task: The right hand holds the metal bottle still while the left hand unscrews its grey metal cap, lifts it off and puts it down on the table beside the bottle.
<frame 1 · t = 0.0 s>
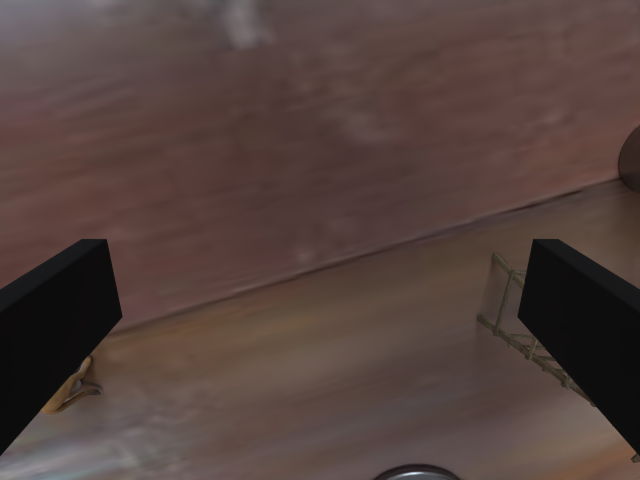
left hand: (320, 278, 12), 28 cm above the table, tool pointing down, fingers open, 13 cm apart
miniature windmill: (519, 289, 44), on the table
lion figurine: (60, 342, 46), on the table
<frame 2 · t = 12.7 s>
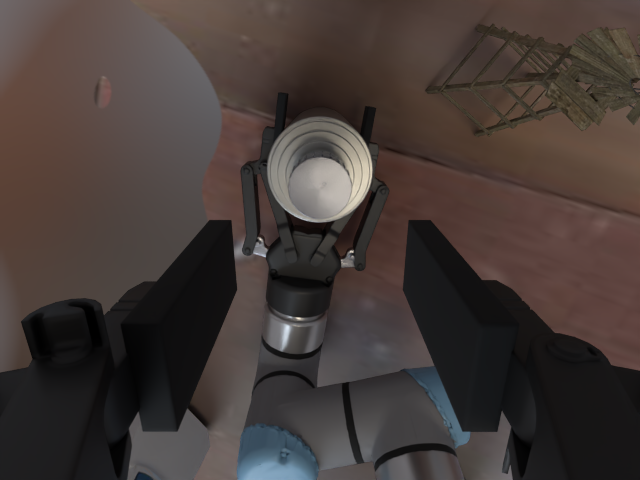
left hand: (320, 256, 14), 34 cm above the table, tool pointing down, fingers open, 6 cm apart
right hand: (327, 100, 38), fingers closed on bottle, 8 cm apart
bottle: (319, 142, 46), on the table, touching right hand
cap: (319, 187, 24), point 23 cm above the table, screwed on, not yet turned
miniature windmill: (477, 82, 44), on the table
electronic device: (172, 413, 60), on the table
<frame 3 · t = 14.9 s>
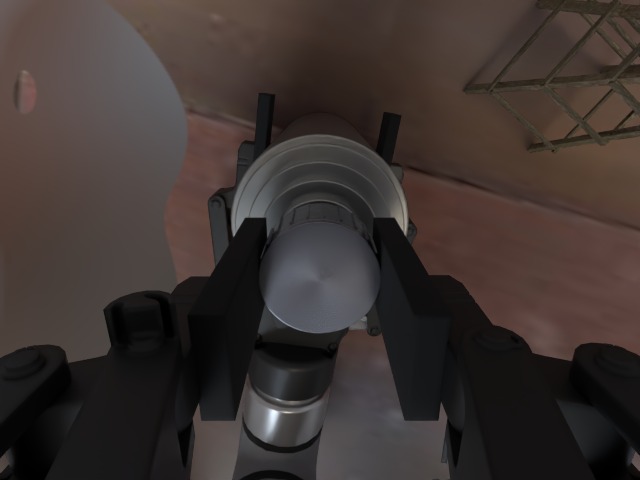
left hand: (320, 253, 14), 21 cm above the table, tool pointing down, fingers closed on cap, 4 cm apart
bottle: (319, 159, 34), on the table, touching right hand
cap: (319, 276, 13), point 23 cm above the table, screwed on, not yet turned, touching left hand
miniature windmill: (534, 79, 32), on the table
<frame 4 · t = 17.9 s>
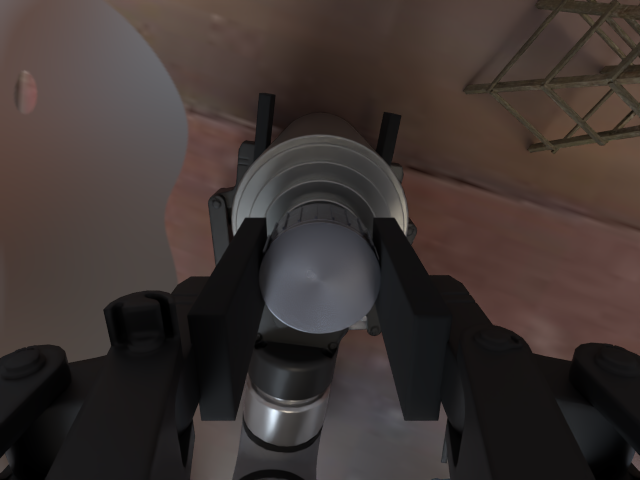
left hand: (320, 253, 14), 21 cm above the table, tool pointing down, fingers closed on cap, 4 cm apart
bottle: (320, 159, 34), on the table, touching right hand
cap: (319, 277, 13), point 23 cm above the table, turned 86° so far, risen 0.1 cm, still on its thread, touching left hand
miniature windmill: (534, 79, 32), on the table
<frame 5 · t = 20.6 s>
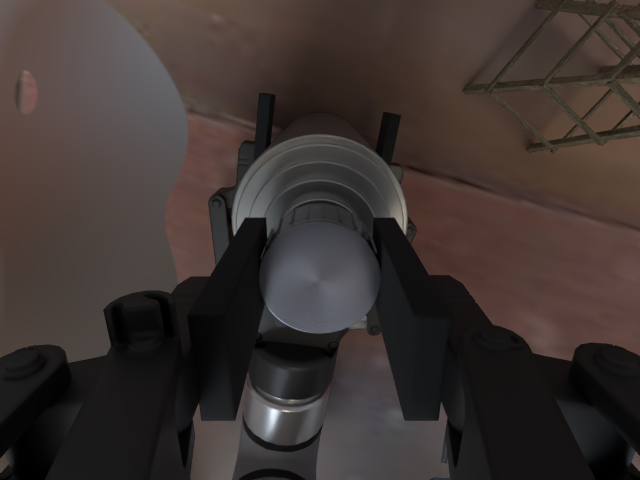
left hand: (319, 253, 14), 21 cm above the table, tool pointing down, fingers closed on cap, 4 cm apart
bottle: (319, 159, 34), on the table, touching right hand
cap: (319, 277, 13), point 23 cm above the table, turned 172° so far, risen 0.1 cm, still on its thread, touching left hand
miniature windmill: (533, 79, 32), on the table
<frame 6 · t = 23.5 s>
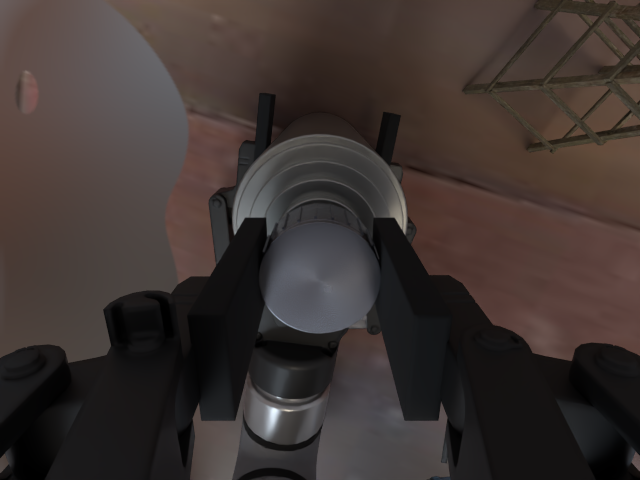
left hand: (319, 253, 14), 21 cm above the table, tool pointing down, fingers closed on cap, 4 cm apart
bottle: (319, 159, 34), on the table, touching right hand
cap: (319, 276, 13), point 23 cm above the table, turned 259° so far, risen 0.2 cm, still on its thread, touching left hand
miniature windmill: (533, 79, 32), on the table
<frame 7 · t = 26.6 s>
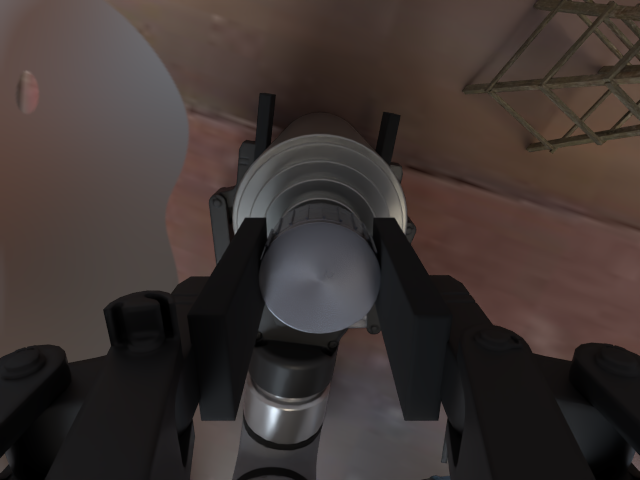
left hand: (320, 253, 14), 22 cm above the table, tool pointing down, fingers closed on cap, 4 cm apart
bottle: (319, 159, 34), on the table, touching right hand
cap: (319, 277, 13), point 23 cm above the table, turned 345° so far, risen 0.3 cm, still on its thread, touching left hand
miniature windmill: (532, 79, 32), on the table
when the left hand's fingers open (1 cm above the table, at t = 36.8 s): cap drops 2 cm, point 2 cm above the table.
when the right hand's fingers open (6 cm above the table, at t = 38.1 s): bottle stays where it is, on the table.
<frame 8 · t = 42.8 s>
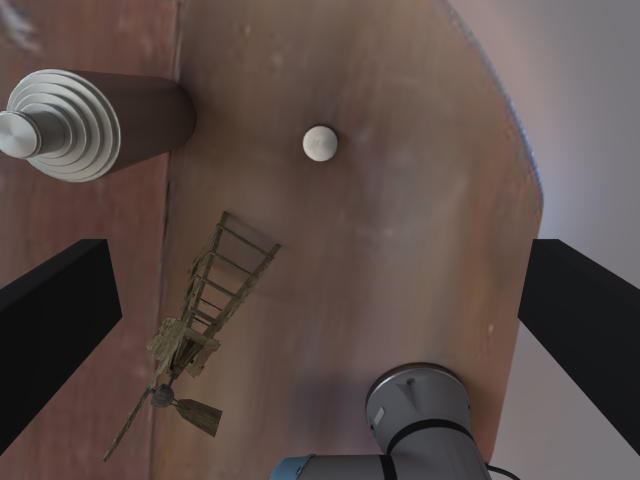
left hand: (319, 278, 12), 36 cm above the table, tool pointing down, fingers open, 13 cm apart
bottle: (161, 114, 45), on the table
cap: (320, 143, 44), point 2 cm above the table, off its thread
miniature windmill: (237, 253, 51), on the table
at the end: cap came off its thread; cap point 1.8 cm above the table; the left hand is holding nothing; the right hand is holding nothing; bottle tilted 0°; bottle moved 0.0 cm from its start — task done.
